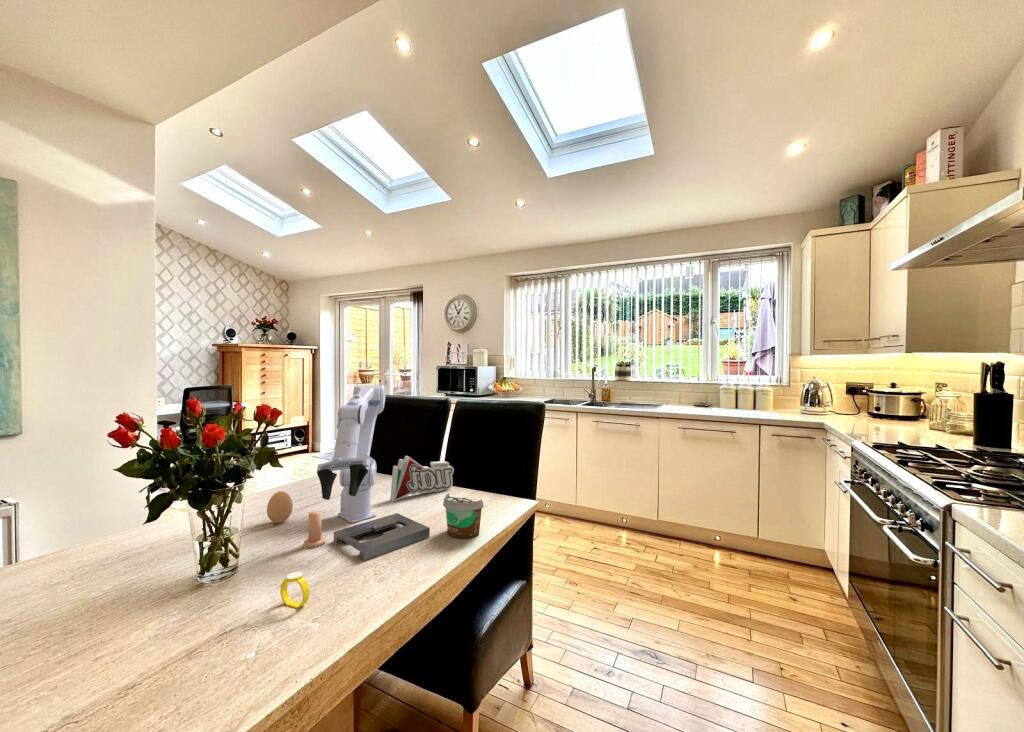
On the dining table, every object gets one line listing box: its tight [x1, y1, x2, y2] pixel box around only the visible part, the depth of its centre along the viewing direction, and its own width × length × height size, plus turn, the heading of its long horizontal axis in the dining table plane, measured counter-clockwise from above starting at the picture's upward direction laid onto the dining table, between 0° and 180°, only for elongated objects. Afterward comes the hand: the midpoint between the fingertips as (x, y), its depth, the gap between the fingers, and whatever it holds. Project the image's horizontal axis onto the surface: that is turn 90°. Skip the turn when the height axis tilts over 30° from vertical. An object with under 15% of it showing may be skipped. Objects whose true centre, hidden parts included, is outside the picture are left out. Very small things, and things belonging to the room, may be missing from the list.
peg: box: [303, 510, 326, 549], centre depth 106 cm, size 5×5×8 cm
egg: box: [266, 490, 294, 524], centre depth 120 cm, size 7×7×9 cm
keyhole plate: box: [333, 513, 431, 562], centre depth 110 cm, size 16×19×2 cm
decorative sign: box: [389, 455, 455, 502], centre depth 149 cm, size 23×3×15 cm, turn 130°
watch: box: [279, 571, 310, 609], centre depth 79 cm, size 6×3×6 cm, turn 71°
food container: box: [442, 492, 485, 540], centre depth 113 cm, size 12×6×10 cm, turn 62°
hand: (339, 497), depth 105 cm, fingers open, 7 cm apart
